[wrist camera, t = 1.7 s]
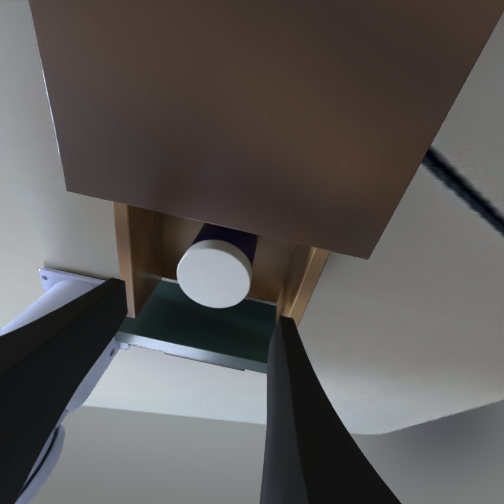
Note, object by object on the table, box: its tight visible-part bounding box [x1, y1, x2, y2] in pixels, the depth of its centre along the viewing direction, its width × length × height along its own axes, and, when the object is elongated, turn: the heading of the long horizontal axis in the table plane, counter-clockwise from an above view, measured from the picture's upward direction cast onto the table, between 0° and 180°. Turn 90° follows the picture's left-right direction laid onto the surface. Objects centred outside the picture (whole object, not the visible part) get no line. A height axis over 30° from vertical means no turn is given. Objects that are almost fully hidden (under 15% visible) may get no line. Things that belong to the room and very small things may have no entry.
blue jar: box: [177, 223, 257, 308], centre depth 16 cm, size 4×4×5 cm
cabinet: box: [28, 0, 504, 259], centre depth 10 cm, size 16×14×8 cm
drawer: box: [112, 201, 331, 374], centre depth 18 cm, size 19×12×6 cm, turn 169°
